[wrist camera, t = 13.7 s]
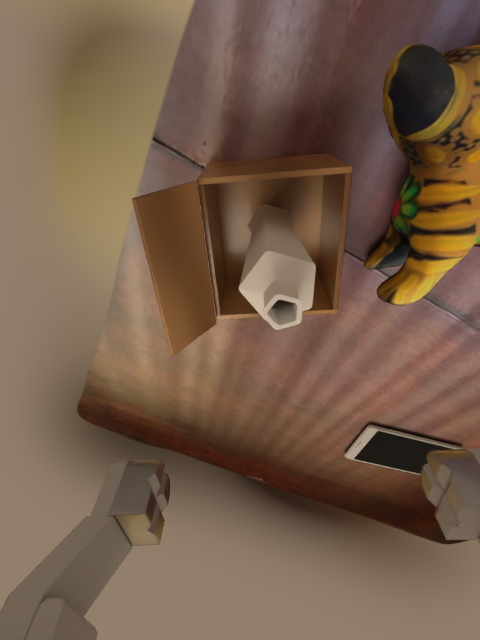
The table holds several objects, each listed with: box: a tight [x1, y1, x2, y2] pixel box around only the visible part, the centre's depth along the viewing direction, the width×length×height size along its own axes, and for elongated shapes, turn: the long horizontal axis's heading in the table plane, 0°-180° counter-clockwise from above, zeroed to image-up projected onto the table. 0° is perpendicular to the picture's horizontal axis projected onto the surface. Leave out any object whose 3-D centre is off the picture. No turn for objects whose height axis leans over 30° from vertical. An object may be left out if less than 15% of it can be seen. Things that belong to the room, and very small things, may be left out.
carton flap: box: [132, 181, 216, 356], centre depth 21 cm, size 5×11×1 cm
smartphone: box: [344, 425, 462, 475], centre depth 46 cm, size 8×1×15 cm
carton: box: [197, 153, 352, 319], centre depth 26 cm, size 10×11×7 cm
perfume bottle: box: [239, 204, 316, 330], centre depth 23 cm, size 5×4×15 cm
